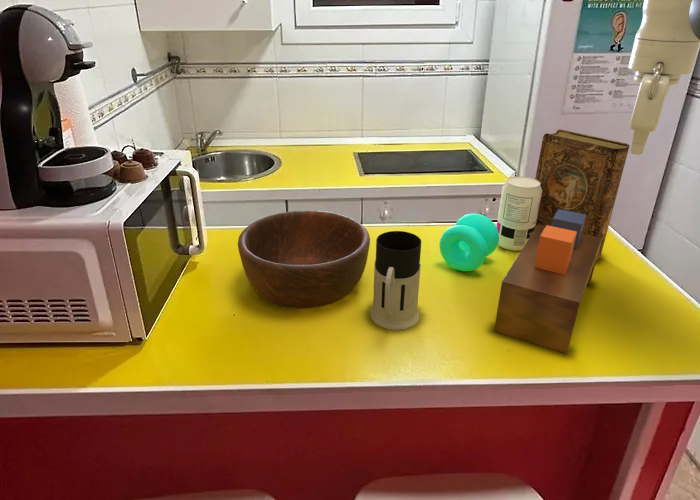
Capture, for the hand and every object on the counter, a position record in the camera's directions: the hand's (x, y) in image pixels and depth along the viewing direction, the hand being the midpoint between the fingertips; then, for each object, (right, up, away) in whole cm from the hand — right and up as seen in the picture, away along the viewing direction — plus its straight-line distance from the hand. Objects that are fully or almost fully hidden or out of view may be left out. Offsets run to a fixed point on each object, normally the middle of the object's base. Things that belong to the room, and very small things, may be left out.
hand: (638, 146), depth 87 cm
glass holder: (-41, -31, +4) cm, 51 cm away
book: (0, -17, +30) cm, 35 cm away
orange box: (-13, -20, +2) cm, 24 cm away
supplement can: (-11, -16, +32) cm, 37 cm away
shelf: (-12, -28, +9) cm, 32 cm away
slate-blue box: (-8, -16, +11) cm, 21 cm away
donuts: (-24, -20, +24) cm, 39 cm away
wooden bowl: (-57, -24, +16) cm, 64 cm away
